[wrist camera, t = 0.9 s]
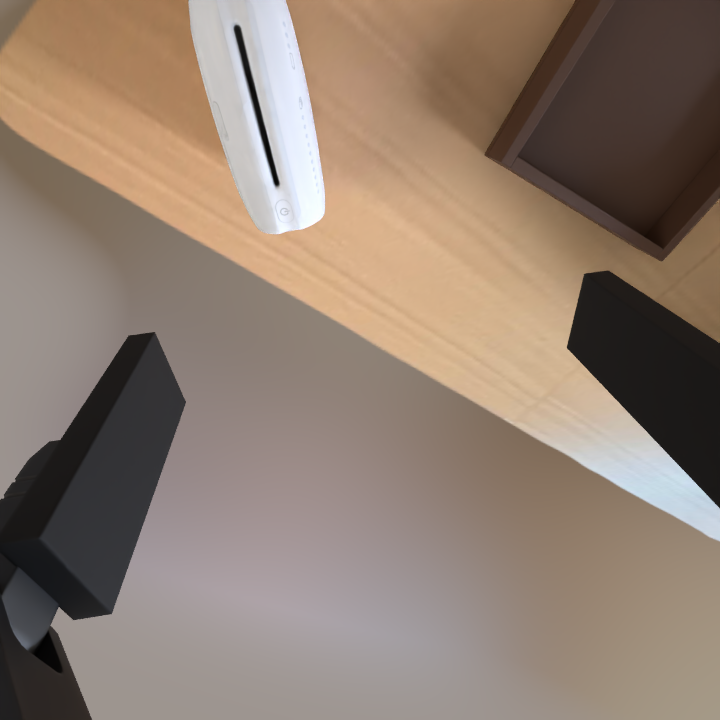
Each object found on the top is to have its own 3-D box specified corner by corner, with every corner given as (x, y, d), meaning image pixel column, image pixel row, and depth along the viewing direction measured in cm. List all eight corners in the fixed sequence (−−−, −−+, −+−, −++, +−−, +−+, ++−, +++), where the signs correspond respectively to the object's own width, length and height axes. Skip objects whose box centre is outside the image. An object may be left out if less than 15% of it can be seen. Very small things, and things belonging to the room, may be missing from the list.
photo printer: (325, 182, 30) (336, 240, 20) (266, 193, 30) (247, 256, 20) (289, -6, 24) (279, -63, 14) (216, 8, 24) (151, -39, 14)
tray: (483, 154, 30) (500, 162, 27) (638, -107, 23) (679, -129, 21) (636, 248, 35) (662, 262, 33) (797, 60, 29) (845, 59, 26)
